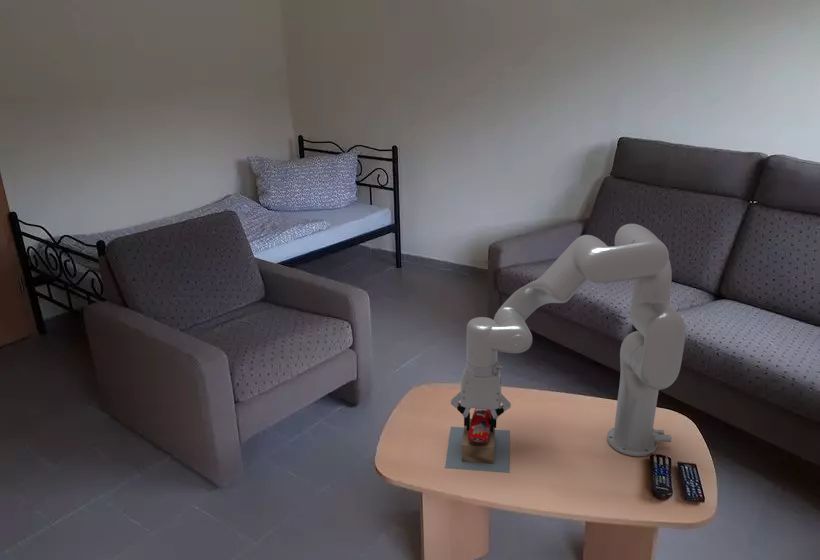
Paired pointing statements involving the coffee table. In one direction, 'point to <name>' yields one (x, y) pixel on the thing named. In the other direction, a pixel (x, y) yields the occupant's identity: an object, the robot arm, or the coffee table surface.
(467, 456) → the walnut block
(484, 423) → the race car
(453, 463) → the base plate
